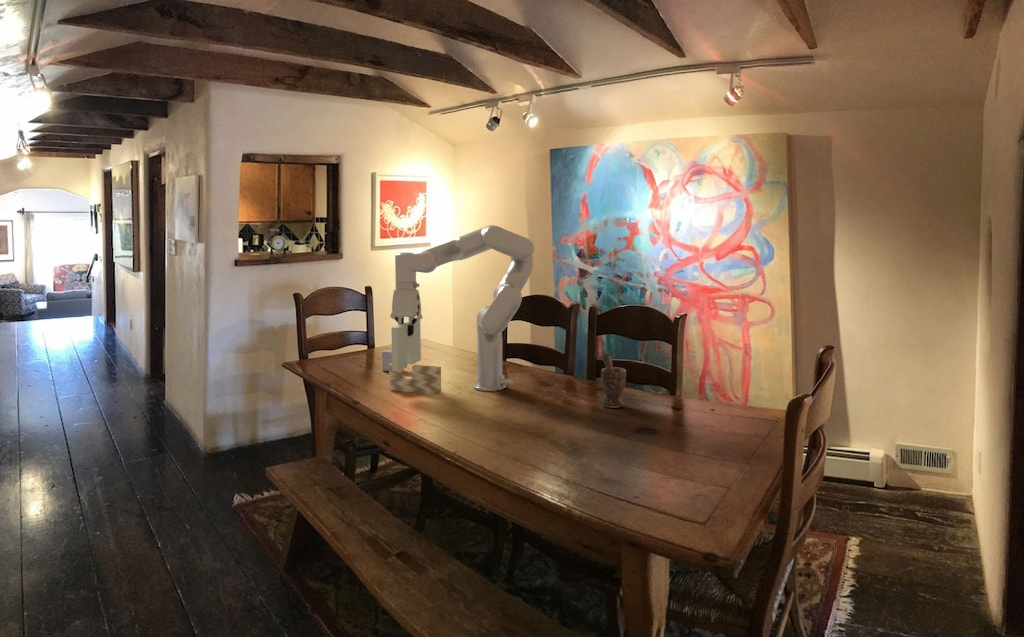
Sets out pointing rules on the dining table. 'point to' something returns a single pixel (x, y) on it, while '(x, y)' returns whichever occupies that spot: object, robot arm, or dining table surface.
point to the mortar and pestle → (612, 382)
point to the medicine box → (386, 359)
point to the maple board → (417, 380)
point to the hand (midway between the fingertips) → (406, 334)
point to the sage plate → (405, 346)
